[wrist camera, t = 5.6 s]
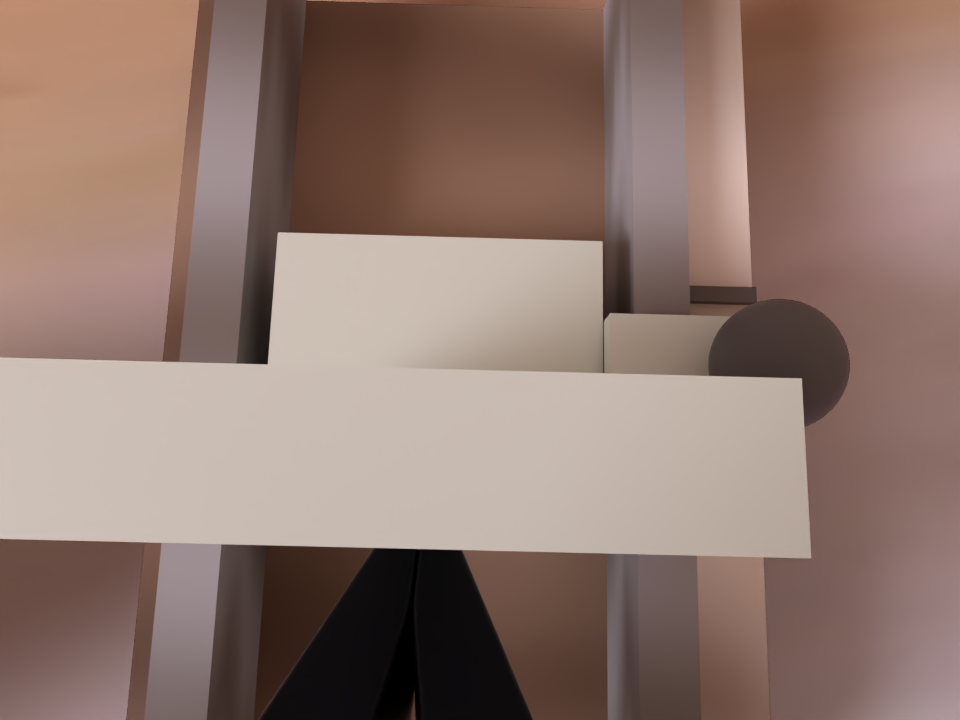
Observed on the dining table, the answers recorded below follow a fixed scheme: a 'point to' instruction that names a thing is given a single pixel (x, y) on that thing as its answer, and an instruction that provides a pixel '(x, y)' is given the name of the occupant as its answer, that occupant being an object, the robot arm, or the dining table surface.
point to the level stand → (471, 214)
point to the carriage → (437, 416)
